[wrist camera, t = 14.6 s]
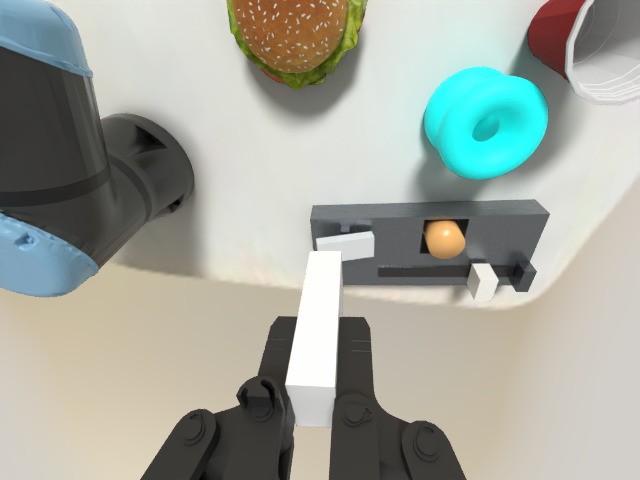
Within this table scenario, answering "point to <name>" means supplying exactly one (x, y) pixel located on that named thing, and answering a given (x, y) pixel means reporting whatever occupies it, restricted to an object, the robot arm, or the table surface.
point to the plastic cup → (591, 46)
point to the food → (296, 36)
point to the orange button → (443, 238)
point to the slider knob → (482, 281)
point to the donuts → (485, 122)
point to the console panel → (412, 251)
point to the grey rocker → (349, 245)
